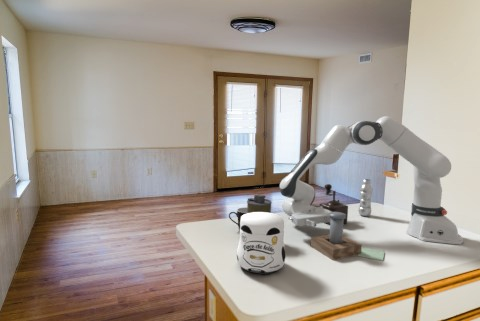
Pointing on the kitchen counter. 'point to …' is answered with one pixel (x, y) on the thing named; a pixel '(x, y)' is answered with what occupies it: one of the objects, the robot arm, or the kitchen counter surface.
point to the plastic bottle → (365, 198)
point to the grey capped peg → (336, 227)
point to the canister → (258, 204)
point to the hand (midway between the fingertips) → (324, 223)
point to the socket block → (335, 247)
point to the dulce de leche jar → (261, 242)
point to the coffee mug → (239, 215)
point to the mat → (372, 254)
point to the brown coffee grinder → (334, 204)
